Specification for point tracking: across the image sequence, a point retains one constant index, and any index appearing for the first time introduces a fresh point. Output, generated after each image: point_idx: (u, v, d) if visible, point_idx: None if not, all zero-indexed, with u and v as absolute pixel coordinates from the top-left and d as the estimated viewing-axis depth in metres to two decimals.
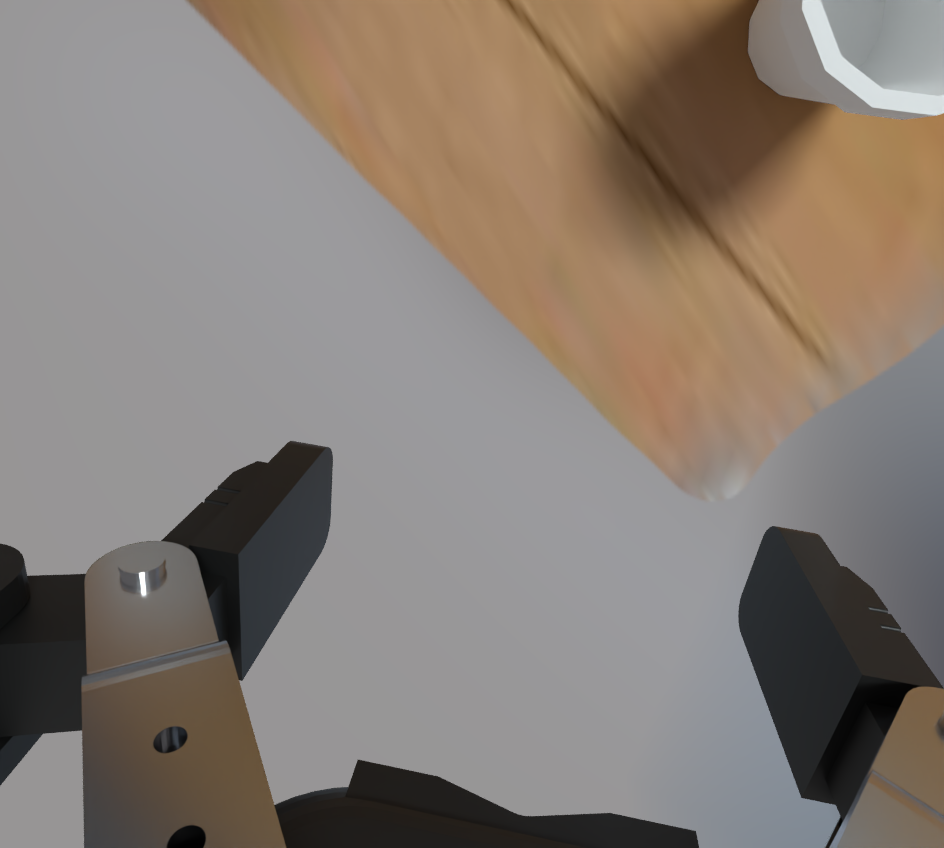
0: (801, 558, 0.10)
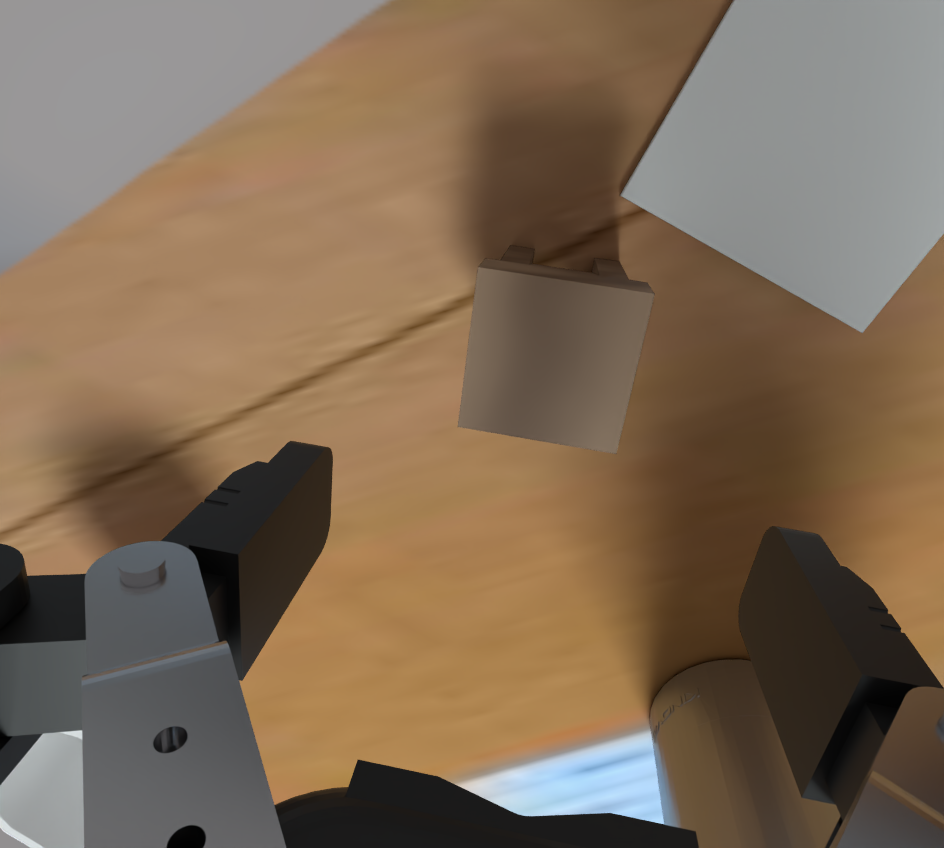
0: (801, 558, 0.10)
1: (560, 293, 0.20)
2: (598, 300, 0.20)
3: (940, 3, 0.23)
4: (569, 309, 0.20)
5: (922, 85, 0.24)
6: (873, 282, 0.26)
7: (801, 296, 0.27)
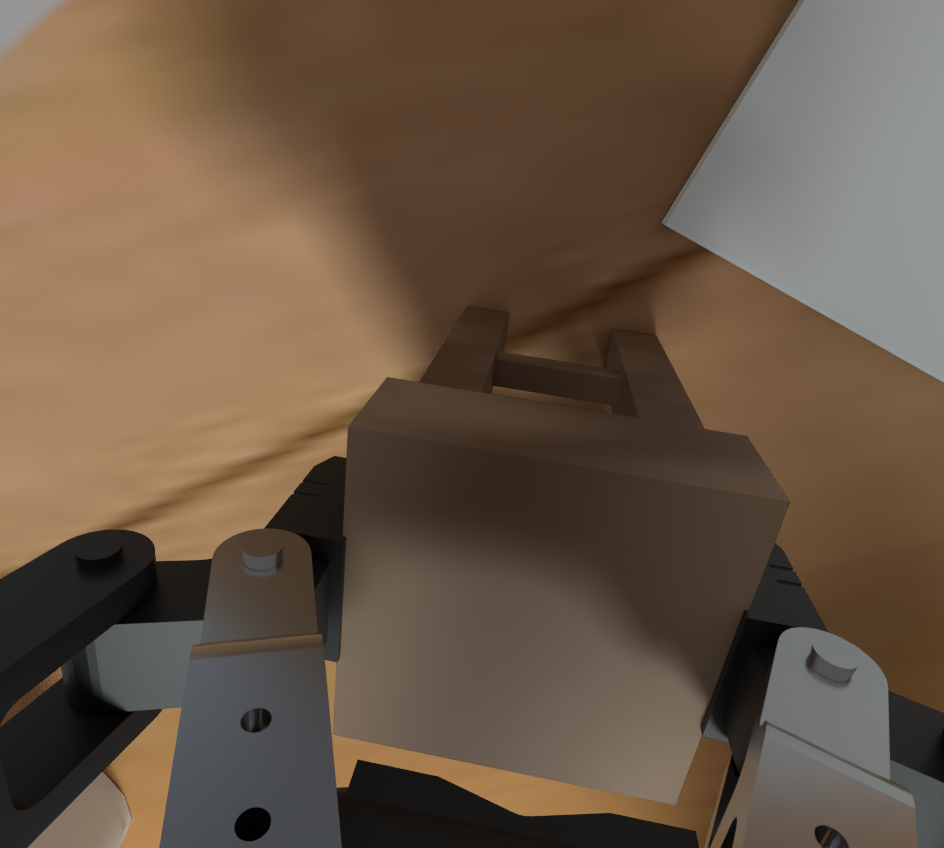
0: None
1: (551, 491, 0.08)
2: (644, 509, 0.08)
3: None
4: (573, 526, 0.08)
5: None
6: None
7: None
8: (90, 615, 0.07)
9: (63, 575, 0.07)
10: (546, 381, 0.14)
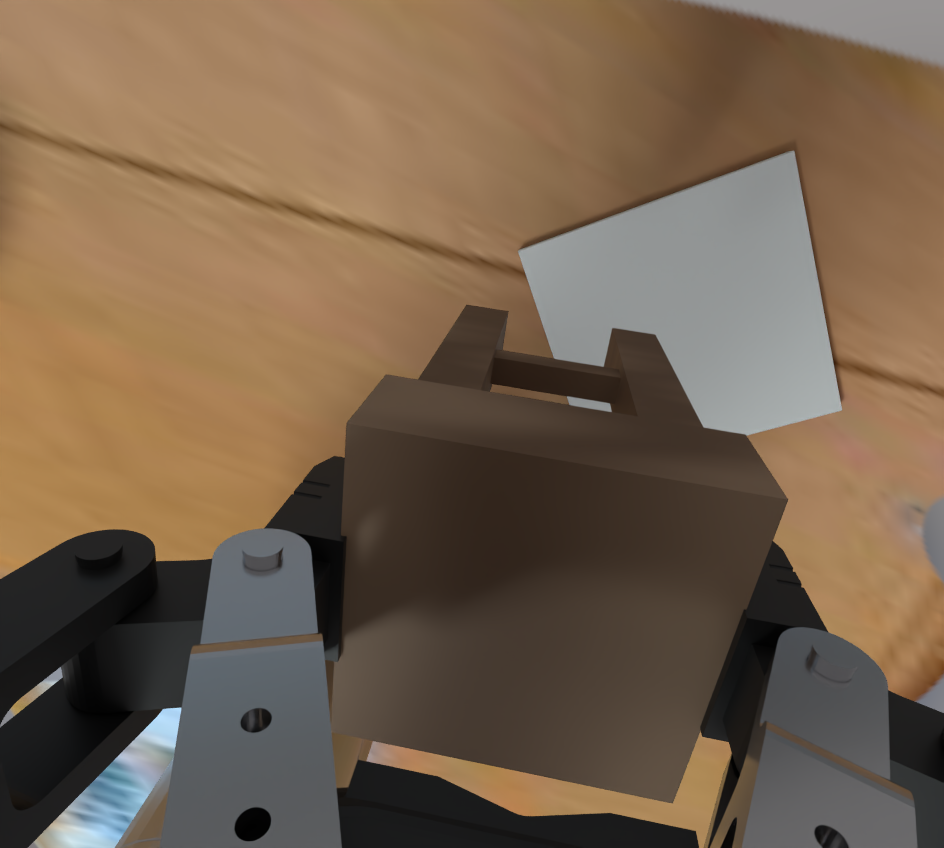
0: None
1: (549, 488, 0.08)
2: (642, 507, 0.08)
3: (790, 308, 0.28)
4: (571, 524, 0.08)
5: (743, 349, 0.29)
6: None
7: None
8: (90, 615, 0.07)
9: (63, 575, 0.07)
10: (545, 379, 0.14)
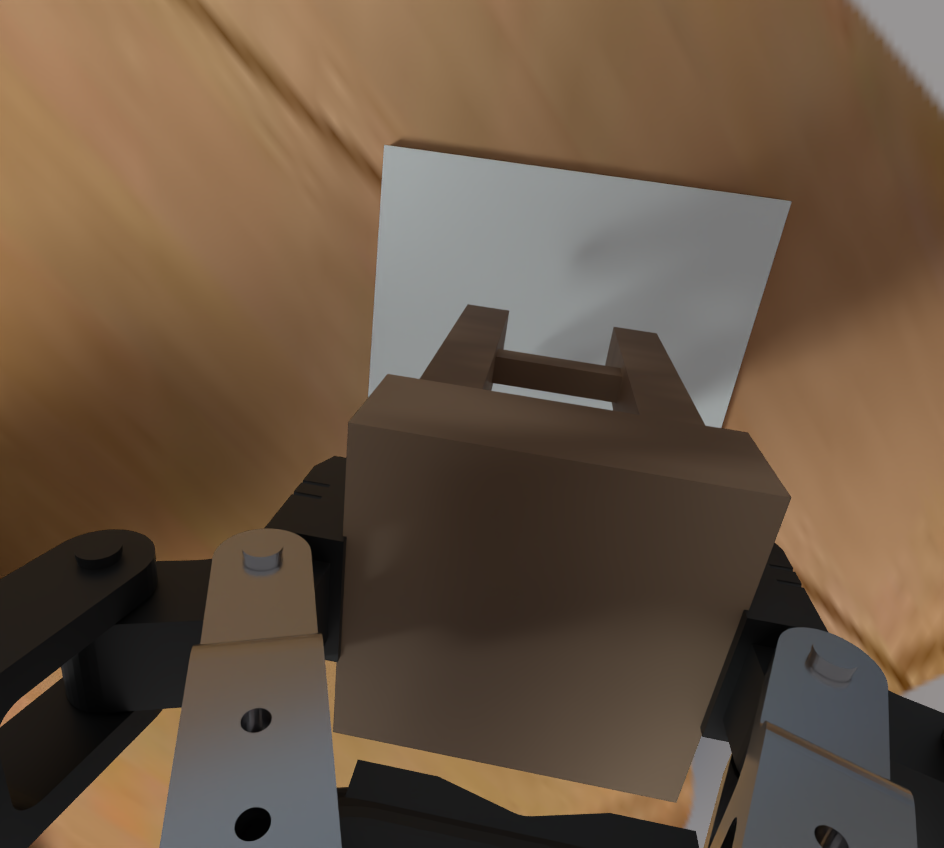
0: None
1: (551, 487, 0.08)
2: (644, 504, 0.08)
3: None
4: (574, 522, 0.08)
5: None
6: None
7: None
8: (90, 614, 0.07)
9: (63, 575, 0.07)
10: (546, 378, 0.14)
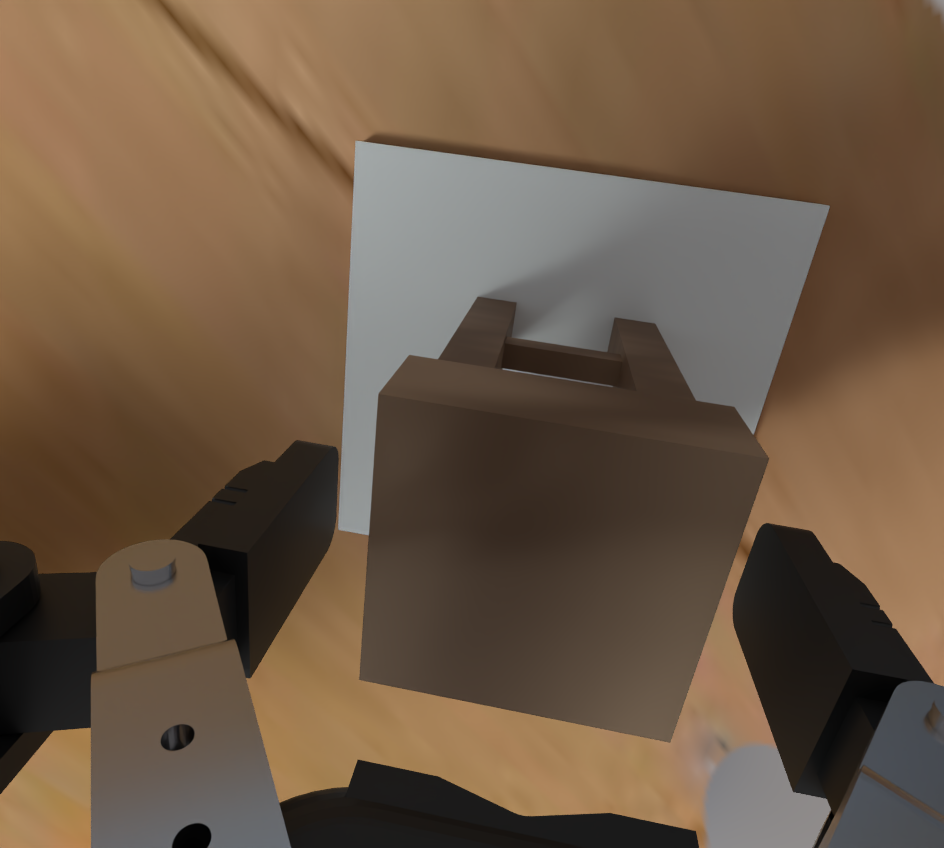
0: (794, 554, 0.10)
1: (558, 451, 0.09)
2: (640, 467, 0.09)
3: None
4: (577, 483, 0.09)
5: None
6: None
7: (344, 446, 0.20)
8: None
9: None
10: (552, 364, 0.15)
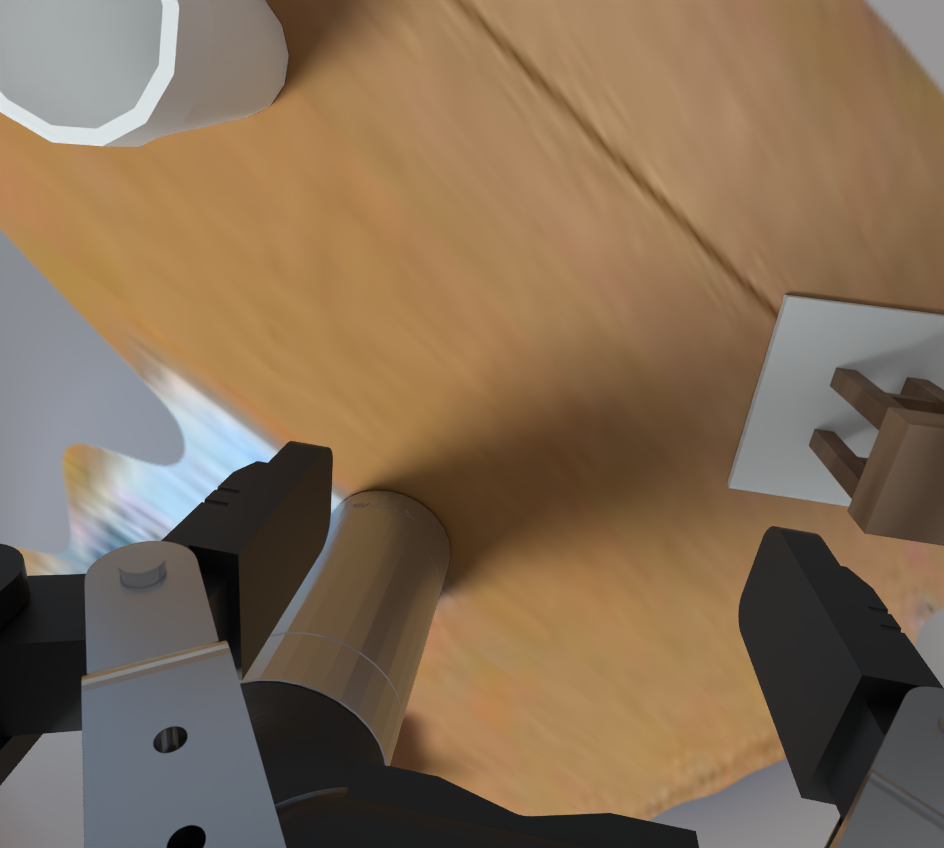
0: (801, 558, 0.10)
1: None
2: None
3: None
4: None
5: None
6: (765, 478, 0.39)
7: (744, 442, 0.38)
8: None
9: None
10: (902, 404, 0.33)
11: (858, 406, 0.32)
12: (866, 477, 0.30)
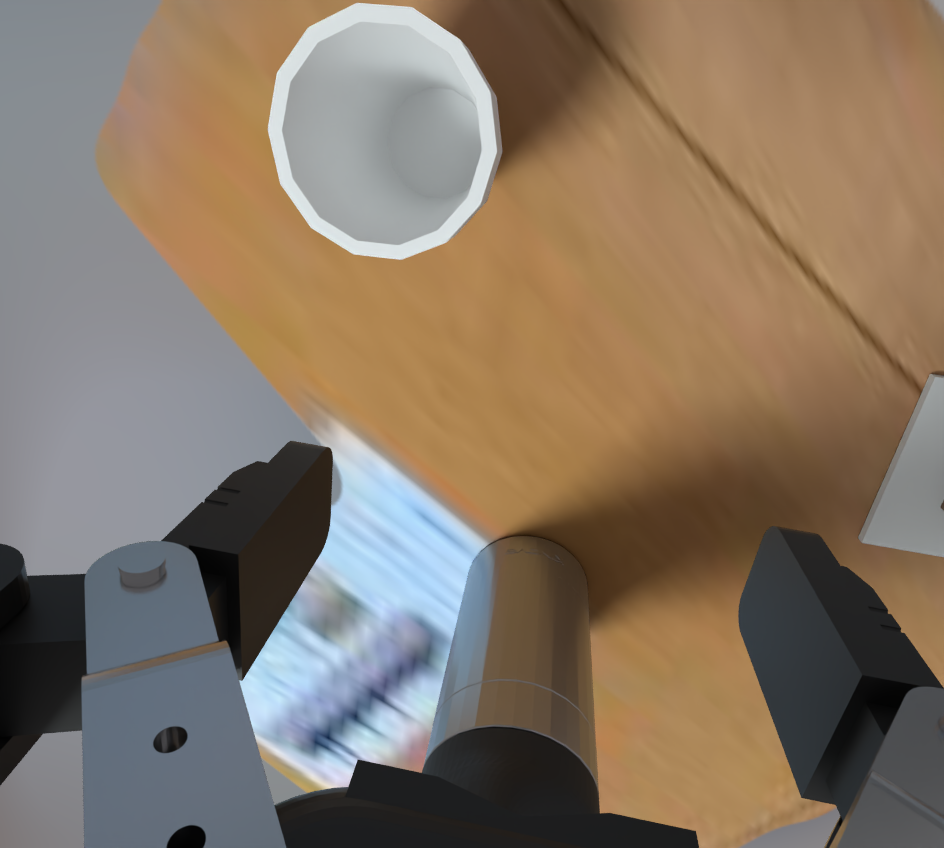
0: (801, 558, 0.10)
1: None
2: None
3: None
4: None
5: None
6: (896, 535, 0.42)
7: (880, 503, 0.42)
8: None
9: None
10: None
11: None
12: None
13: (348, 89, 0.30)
